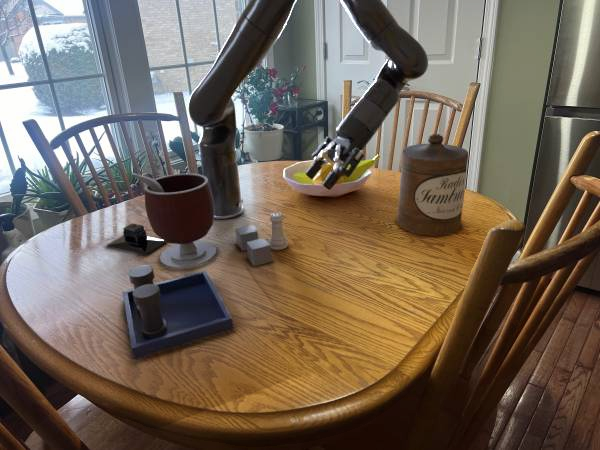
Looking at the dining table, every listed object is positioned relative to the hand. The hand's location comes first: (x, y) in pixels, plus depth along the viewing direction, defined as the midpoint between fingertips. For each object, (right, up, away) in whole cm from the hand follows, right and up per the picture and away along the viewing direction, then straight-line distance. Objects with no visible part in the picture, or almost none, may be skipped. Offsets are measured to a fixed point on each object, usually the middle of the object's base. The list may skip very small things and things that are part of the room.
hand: (316, 182), depth 98 cm
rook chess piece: (-9, -15, +2) cm, 17 cm away
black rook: (-31, -25, -20) cm, 44 cm away
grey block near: (-12, -17, -4) cm, 22 cm away
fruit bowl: (+5, +1, +35) cm, 35 cm away
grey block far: (-16, -14, +3) cm, 21 cm away
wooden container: (+28, -9, +10) cm, 31 cm away
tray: (-25, -26, -21) cm, 42 cm away
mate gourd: (-29, -17, 0) cm, 34 cm away
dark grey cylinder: (-28, -27, -26) cm, 47 cm away
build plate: (-42, -14, +6) cm, 45 cm away
